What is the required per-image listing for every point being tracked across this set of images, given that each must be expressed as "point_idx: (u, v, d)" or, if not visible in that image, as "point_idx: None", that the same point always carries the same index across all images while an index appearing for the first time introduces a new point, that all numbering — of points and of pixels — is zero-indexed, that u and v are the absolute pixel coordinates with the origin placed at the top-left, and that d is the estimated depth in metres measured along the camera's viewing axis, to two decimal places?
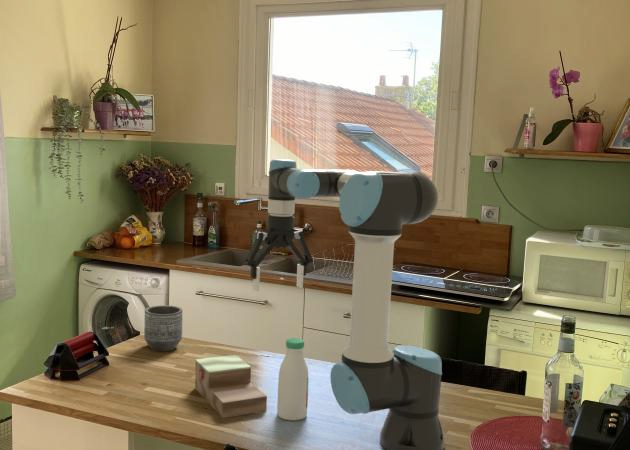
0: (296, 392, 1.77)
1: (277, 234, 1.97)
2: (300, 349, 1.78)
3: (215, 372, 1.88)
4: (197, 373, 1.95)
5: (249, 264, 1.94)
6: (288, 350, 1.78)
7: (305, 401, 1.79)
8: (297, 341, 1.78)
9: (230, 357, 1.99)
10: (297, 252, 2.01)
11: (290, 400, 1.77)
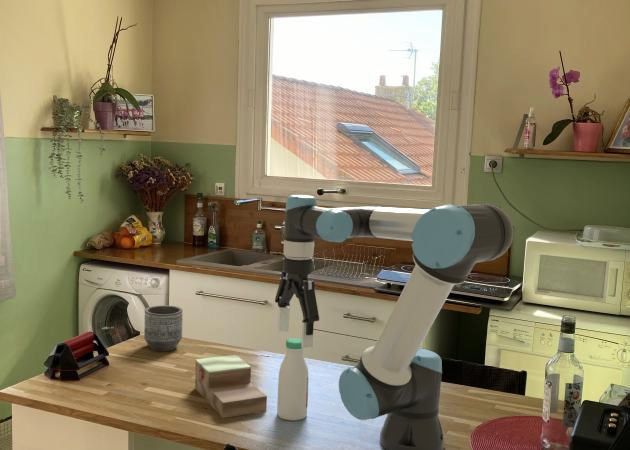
0: (296, 392, 1.77)
1: (291, 277, 1.78)
2: (300, 349, 1.78)
3: (215, 372, 1.88)
4: (197, 373, 1.95)
5: (275, 301, 1.86)
6: (288, 350, 1.78)
7: (305, 401, 1.79)
8: (297, 341, 1.78)
9: (230, 357, 1.99)
10: (301, 304, 1.73)
11: (290, 400, 1.77)
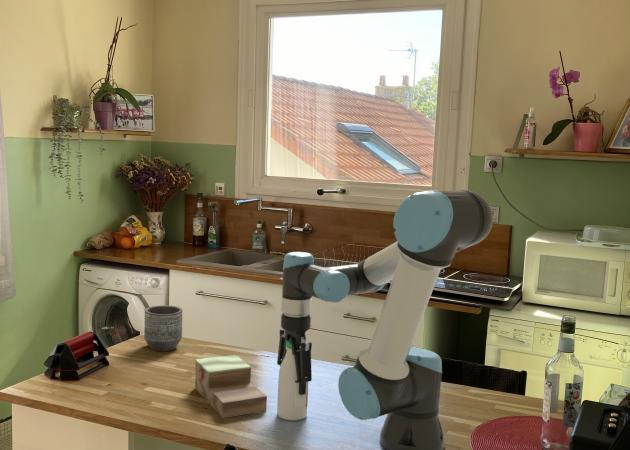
0: None
1: (288, 331, 1.80)
2: None
3: (215, 372, 1.88)
4: (197, 373, 1.95)
5: (277, 363, 1.86)
6: (288, 350, 1.78)
7: (305, 401, 1.79)
8: None
9: (230, 357, 1.99)
10: (296, 363, 1.76)
11: (290, 400, 1.77)
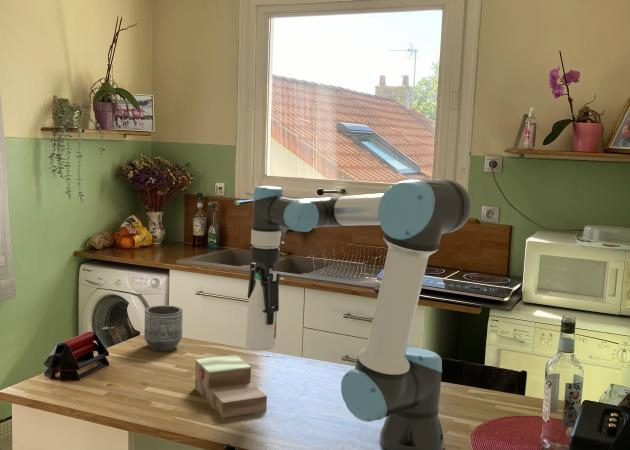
0: None
1: (258, 263, 1.84)
2: None
3: (215, 372, 1.88)
4: (197, 373, 1.95)
5: (248, 296, 1.90)
6: (257, 281, 1.82)
7: (273, 332, 1.84)
8: None
9: (230, 357, 1.99)
10: (264, 293, 1.80)
11: (258, 330, 1.82)
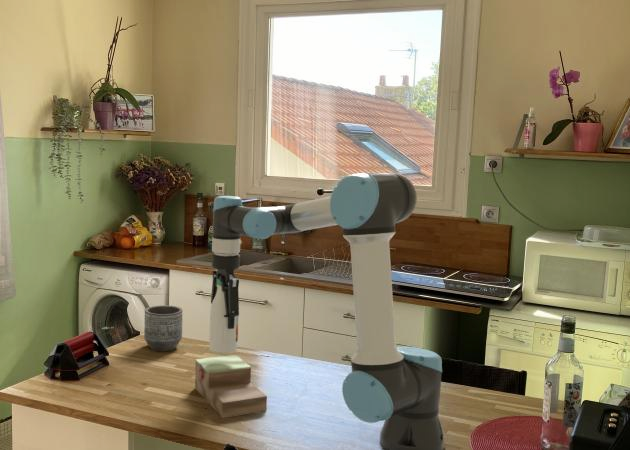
0: None
1: (219, 270, 1.92)
2: None
3: (215, 372, 1.88)
4: (197, 373, 1.95)
5: (211, 302, 1.98)
6: (218, 287, 1.90)
7: (235, 335, 1.91)
8: None
9: (230, 357, 1.99)
10: (225, 299, 1.88)
11: (220, 334, 1.89)
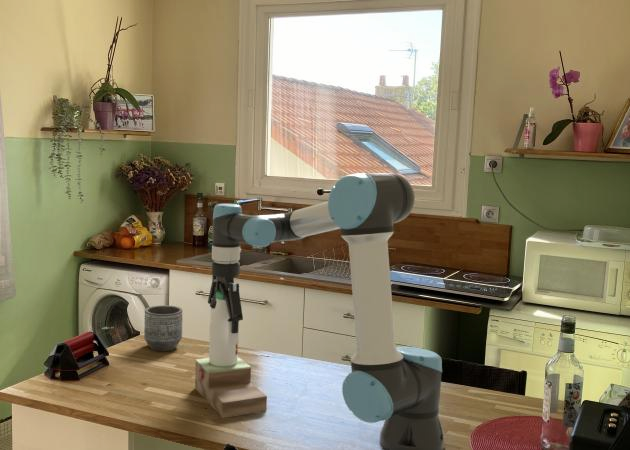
0: (225, 340, 1.90)
1: (219, 280, 1.92)
2: None
3: (215, 372, 1.88)
4: (197, 373, 1.95)
5: (208, 302, 2.00)
6: (217, 301, 1.91)
7: (234, 349, 1.92)
8: None
9: None
10: (227, 304, 1.87)
11: (220, 347, 1.90)
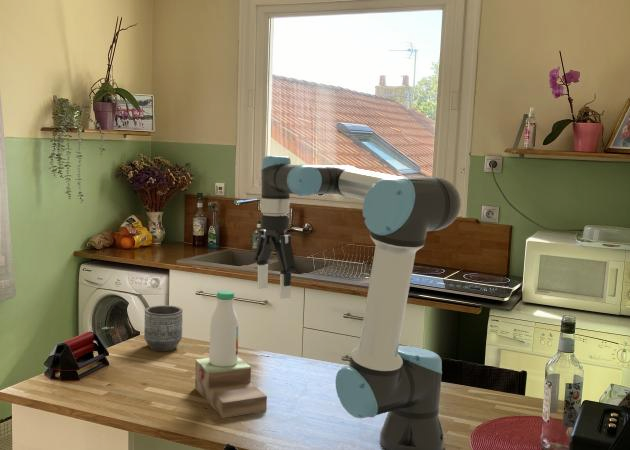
0: (226, 340, 1.90)
1: (268, 234, 1.88)
2: (230, 300, 1.90)
3: (215, 372, 1.88)
4: (197, 373, 1.95)
5: (254, 259, 1.96)
6: (218, 301, 1.91)
7: (235, 349, 1.92)
8: (227, 293, 1.91)
9: None
10: (278, 257, 1.83)
11: (220, 347, 1.90)
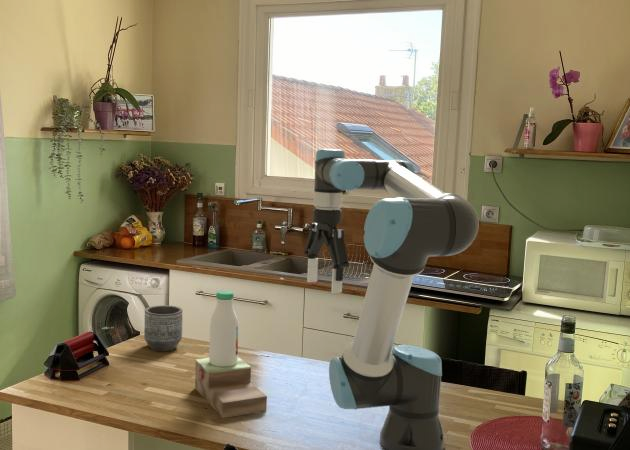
0: (226, 340, 1.90)
1: (320, 227, 1.87)
2: (229, 300, 1.90)
3: (215, 372, 1.88)
4: (197, 373, 1.95)
5: (304, 252, 1.95)
6: (218, 301, 1.91)
7: (235, 349, 1.92)
8: (226, 293, 1.91)
9: None
10: (331, 252, 1.82)
11: (220, 347, 1.90)
